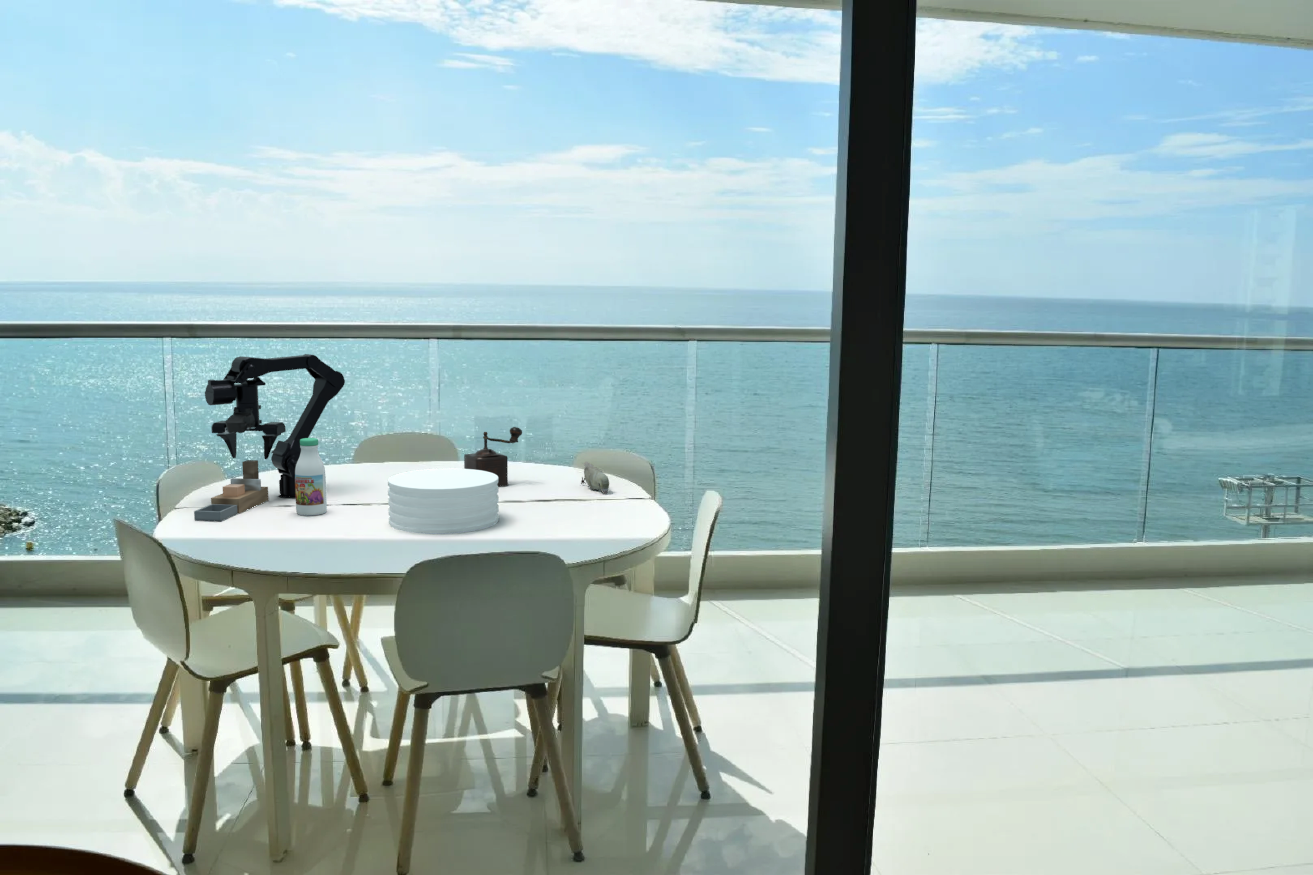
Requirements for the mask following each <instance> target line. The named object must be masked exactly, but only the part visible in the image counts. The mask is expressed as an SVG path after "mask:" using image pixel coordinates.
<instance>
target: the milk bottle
mask: <svg viewBox="0 0 1313 875" xmlns="http://www.w3.org/2000/svg"><path fill="white" fill-rule="evenodd" d="M318 447H319V439H318V438H316V437H308V438H303V439H300V448H301V453H300V457H299V459H298V462H297V464H296V468H295V493H296V498H295V510H296V514H297V515H300V516H318V515H323V514H325V513H326V512H327V510H328V509H327V508H328V507H327V505H328V504H327V482H326V481H327V480H326V477H327V476H326V467H325V465H324V464H325V463H324V461H323V460H322V458H321V456H320V454H319V450H318Z"/></svg>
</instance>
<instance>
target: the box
mask: <svg viewBox="0 0 1313 875" xmlns="http://www.w3.org/2000/svg"><path fill="white" fill-rule="evenodd" d="M236 514H237V515H239V514H238V513H237V505H224V504H211V503H210V504H208V505H206V506H203V507H201V508H199V509H197V510H194V511H193V515H194V522H216V523H217V522H221V523H222V522H223V521H225V520H229V519H230V518H233V517H235V516H237V515H236Z"/></svg>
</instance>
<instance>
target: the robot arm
mask: <svg viewBox="0 0 1313 875" xmlns="http://www.w3.org/2000/svg"><path fill="white" fill-rule="evenodd" d="M296 370H306V371H307V373H308V374H309V375H310V376H311V377H312V378H313V379H314V382H313V386H312V395H311V397H310V399H309V401H308V402H307V404H306V406H305V407H304V409H303V412H301V415H300V417H299V419H298V421H297V422H296V424H295V426H294V428H293V429H292V431H291V433H290V435H289V437H287V439H286V440H284V441H283V440H282V441H281V440H277V438H278V437H279V436H282V433H283V434H284V433H286V432H287V431H286V429H287V428H286V425H285V423H284V422H283V421H269V422H266V423H263V420H262V419H260V410H261V409H262V404H259V403H260V402H259V386H266V385H267V384H266V382H264V381H263V380H262V379H261V378H260V377H263V376H264V375H267V374H270V373H274V372H284V371H296ZM345 384H346V380H345V377H344V374H343V373H341V371H337V370H335V369H333V368H332V367H331V366H330V365H328V364H327V363H325V362H324V361H322V360H321V359H320V358H319V357H317V355H315V354H309V353H304V354H300V355H291V356H289V355H288V356H281V357H280V356H279V357H277V356H276V357H269V358H268V357H267V358H263V357H262V358H261V357H253V356H251V357H250V356H242V355H241V356H237V357H234V359H233V360H232V362H231V364H230V369H229V370H228V372H227V373H226V374H225V376H224V377H223V379H208V380H207V385H206V386H205V391H204V398H205V401H206V403H207V405H209V406H218V405H219V406H222V405H231V404H233V403H234V402H235V406H234V407H233V414H231V415H230V416H229V417H228V418H227V419H225V420H220V421H219V420H218V421H216V422H215V421H214V422H213V423H212V424H211V433H212V434H216V435H215V436H217V437H220V438H221V439H222V440H223V441H224V443H225V445H226V447H227V449H228V452H229V453H230V455H231V457H232V459H236V458H237V444H238V443H237V433H238V434H243V433H245V432H262V433H263V435H261V437H262V440H263V455H264V457H263V458H264V459H265V460H268V458H269V457H270V453H271V454H272V455H271V463H272V465H273V466H274V467H275V468H276V469H277V472H278V474H279V475H280V479H279V481H278V485H279V486H278V487H279V494H278V497H279V498H293V499H294V498H295V499H296V493H295V468H296V464H297V462H298V459H299V457H300V453H301V448H300V439H303V438H310V435H311V434H312V432H313V430H314V428H315V427H316V425H317V423H318V421H319V420H320V417H321V416H322V414H323V412H324V410H325V408H326V407H327V404H328V403H329V402H330V401H331V400H332V399H333V398H335V397H336V396H337V395H339V393H340V391H341V390H342V389H343V388H344V386H345ZM276 441H277V442H276ZM275 442H276V445H275V447H274V449H273V450H272V448H273V446H274V444H275Z"/></svg>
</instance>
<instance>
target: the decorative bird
mask: <svg viewBox="0 0 1313 875" xmlns="http://www.w3.org/2000/svg"><path fill="white" fill-rule="evenodd" d="M582 464H583V466H584V470H583V475H584V477H583V476H581V481H580V484H581V485H583V484H584V485H588V486H589V488H591V489H592V490H597V491H601V492H602V493H603V495H607V494H608V492H609V487H610V481H609V479H610V478H609V477H608V476H607V475H606V473H603V471H602V470H601V469H600V468H599V467H595V466H594V465H593V464H592V463H590V462H589V461H585V462H583V463H582Z"/></svg>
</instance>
